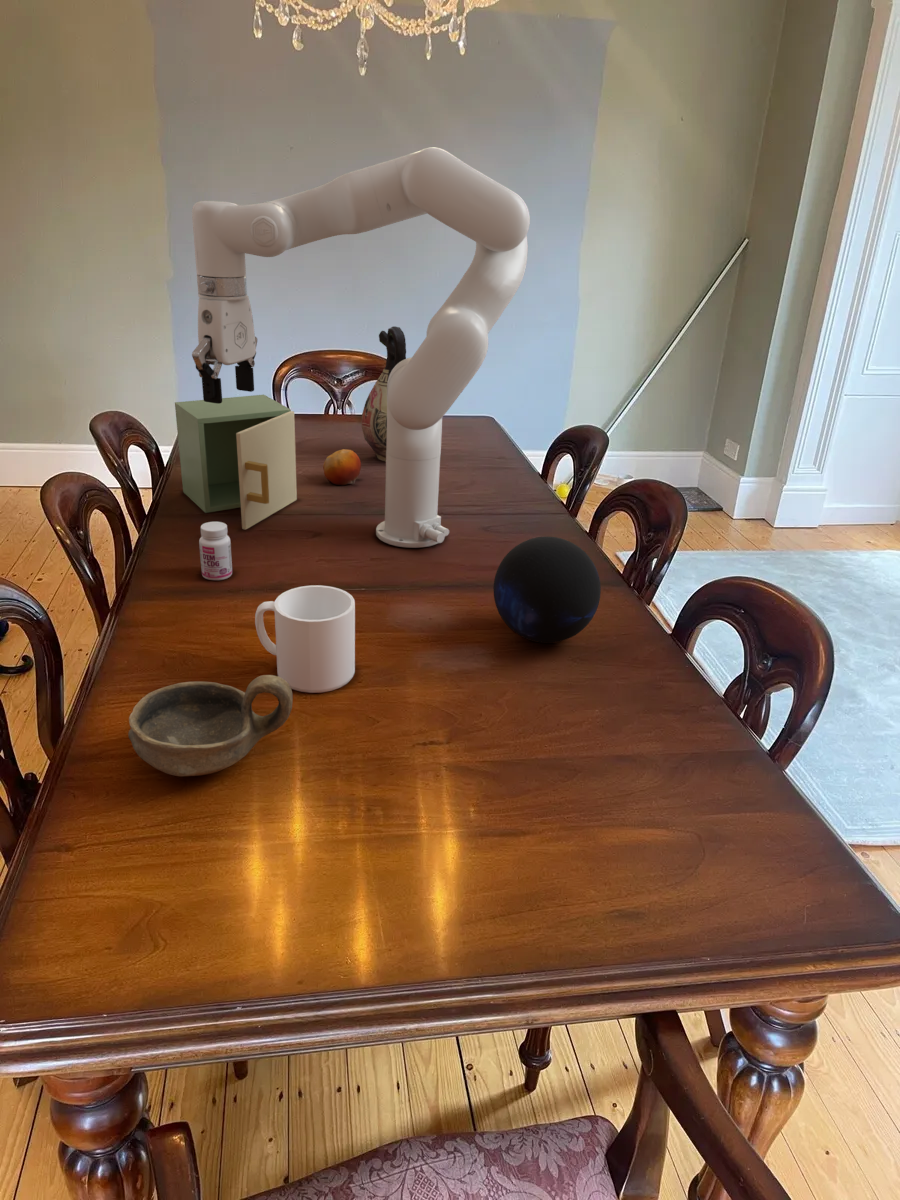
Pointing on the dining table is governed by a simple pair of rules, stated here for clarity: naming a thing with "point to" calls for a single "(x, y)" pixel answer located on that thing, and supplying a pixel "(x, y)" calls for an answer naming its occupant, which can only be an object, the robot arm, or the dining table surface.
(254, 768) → the dining table surface
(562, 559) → the decorative sphere
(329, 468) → the fruit
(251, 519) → the door
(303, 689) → the mug
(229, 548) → the pill bottle
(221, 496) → the cupboard
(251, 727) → the bowl
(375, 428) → the ceramic jug
